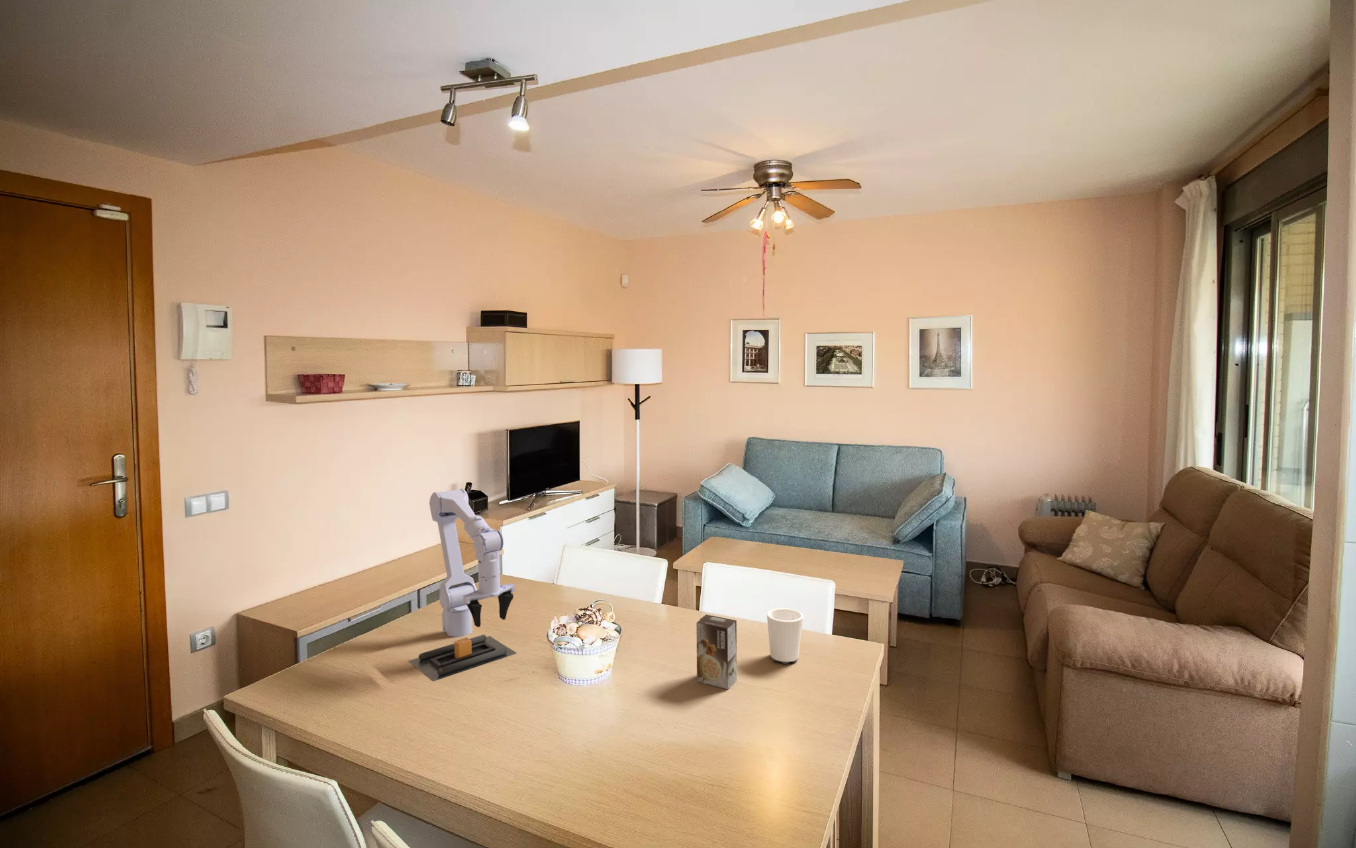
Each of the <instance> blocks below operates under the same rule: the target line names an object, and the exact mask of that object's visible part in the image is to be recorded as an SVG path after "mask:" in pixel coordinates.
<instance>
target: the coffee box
mask: <svg viewBox="0 0 1356 848" xmlns="http://www.w3.org/2000/svg"><path fill="white" fill-rule="evenodd" d="M695 626H696V682H697V683H700V684H705V685H708V684H709V686H713V687H716V686H717V687H716V688H722V689H725V690H729V689H730V688H731V687H732V686H733V685H734V684H735V683H736V682H737V680H738V679H737V678H738V672H737V671H738V670H737V669H738V668H737V666H738V665H737V661H738V660H737V659H738V658H737V648H738V647H737V642H738V641H737V637H738V636H737V631H738V630H737V626H738V625H737V620H736V619H732V618H726V617H721V616H715V615H711V614H705V615H703V616H702V617H700V618H699V620H698V621H697V622H696V625H695Z"/></svg>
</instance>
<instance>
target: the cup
mask: <svg viewBox="0 0 1356 848" xmlns="http://www.w3.org/2000/svg"><path fill="white" fill-rule="evenodd" d="M766 619H767V632H768V643H769V654H770V657H771V659H772V661H773V662H775V661H776V662H780V663H782V664H783V665H787V664H789V663H790V662H791V663H797V662H798V659H799V655H800V647H801V645H800V644H801V638H802V630H803V629H802V628H803V621H804V614H803V613H802V612H800V611H798V610H795V609H792V608H785V607H783V608H782V607H781V608H774V609H771V610H769V611H768V612H767V613H766Z"/></svg>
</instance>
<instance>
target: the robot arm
mask: <svg viewBox="0 0 1356 848" xmlns="http://www.w3.org/2000/svg"><path fill="white" fill-rule="evenodd" d="M428 503H429V510H430V515H431V519H432V521H433V522H435V523H437V527H438V533H439V536H440V537H439V538H440V543H441V549H442V555H443V559H444V560H443V562H444V568H445V573H446V577H445V579H444V580H443V581H441V583H440V584H439V586H438V589H439V596H438V597H439V598H438V599H439V604H440V606H441V608H442V613H441V615H442V616H441V620H442V622H441V623H442V632H440V634H443V633H446V635H448V636H450V637H455V638H459V637H461V638H462V637H464V636H468V635H470V634H472V632H473V624H474V626H475V627H477V628H480V627H481V624H482V623H481V613H482V607H483V604H481V603H480V601H481V600H485V599H488V598H492V597H493V598H495V597H497V599H498V607H499V608H498V609H499V611H498V613H499V618H500V619H501V620H503V621H505V620H506V618H507V613H508V611H509V607H510V604H511V603H512V600H513V599H514V594H513V593H514V592H516V591H515V590H516V586H515V584H513V583H507V584H501V572H500V571H501V568H500V567H501V566H500V565H501V563H500V551H502V550H503V548H504V537H503V535H502V533H501V531H500V530H499V529H495V528H491V527H490V525H489V524H488V523H487V522H486V521H485V519H484V518H483V517H482V516H481V515H476V514H475V513H474V511H473V509H472V508H471V506H470V504H469V495H468V493H467V491H466V490H465V489H464V488H459V489H454V490H453V489H451V490H447V491H439V492H436V491H435V492H432V493H431V495H430V498H429V502H428ZM458 519H460V520H461V522H463V523H464V526H463V529H464V531H465V533H466V534H467V535H469V538H470V539H471V540H472V541H473V549H474V551H475V558H476V560H477V571H478V572H477V573H478V575H477V577H478V588H477V586H476V584H475V581H474V578H473V577H471V576H470V575H469V574H466V573H465V569H464V566H463V565H464V564H463V557H462V553H461V547H460V542H459V537H458V533H457V532H458V531H457V525H456V522H457V520H458ZM459 584H460V585H459ZM455 585H456V586H455ZM473 622H474V623H473Z"/></svg>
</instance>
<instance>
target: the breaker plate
mask: <svg viewBox="0 0 1356 848" xmlns="http://www.w3.org/2000/svg"><path fill="white" fill-rule="evenodd" d="M486 637H487V638H486V640H485V641H483V642H480V643H476V644H473V645H472V654H469V655H466V656H463V657H460V658H456V657H455V650H454V651H450V652H447V653H444V654H441V655H437V656H434V657H431V658H428V659H424V660H420V659H419V657H416V658H413V659H410V660H409V659H408V663H410V664H412V665H413V667H414V668H416V669H417V670H418V671H419V672H421V673H422V674H423V675H424V676H426V677H427V678H428V679H429V680H431V681H432V682H435V681H439V680H442V679H445V678H447V677H451V676H455V675H457V674H460V673H463V672H466V671H469V670H472V669H475V668H478V667H481V666H484V665H487V664H490V663H492V662H493V663H494V662H495V661H499V660H502V659H504V658H508V657H511V656H514V655H516V654H518V652H516V651H514V650H513V649H512V648H510V647H509V646H507V645H505V644H503V643H502V642H500V641H498V640H497V639H495V638H493V637H492V636H491V635H489V636H486ZM501 648H506V649H507V653H506V654H504V655H501V656H498V657H495V658H492V659H489V660H486V661H483V662H480V663H477V664H474V665H471V666H468V667H465V668H462V669H459V670H455V671H452V672H449V673H446V674H443V675H438V673H437V671H438V669H439V668H442V667H445V666H448V665H451V664H454V663H457V662H460V661H464V660H467V659H470V658H473V657H476V656H479V655H482V654H485V653H488V652H492V651H495V650H498V649H501Z"/></svg>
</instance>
